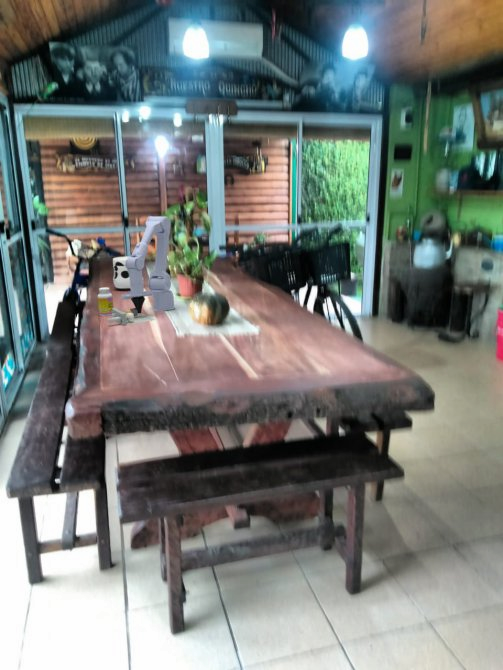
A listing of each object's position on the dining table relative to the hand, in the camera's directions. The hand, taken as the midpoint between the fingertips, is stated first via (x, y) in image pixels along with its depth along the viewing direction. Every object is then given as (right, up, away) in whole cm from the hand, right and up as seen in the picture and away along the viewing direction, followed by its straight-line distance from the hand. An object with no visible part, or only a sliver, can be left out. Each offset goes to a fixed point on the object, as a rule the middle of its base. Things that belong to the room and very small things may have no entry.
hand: (139, 313), depth 238 cm
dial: (-3, -4, -6) cm, 8 cm away
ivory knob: (-5, -5, -12) cm, 14 cm away
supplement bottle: (-17, -1, +7) cm, 18 cm away
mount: (-1, -4, -4) cm, 6 cm away
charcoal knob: (-6, -2, -3) cm, 7 cm away
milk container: (-21, +17, +69) cm, 74 cm away
